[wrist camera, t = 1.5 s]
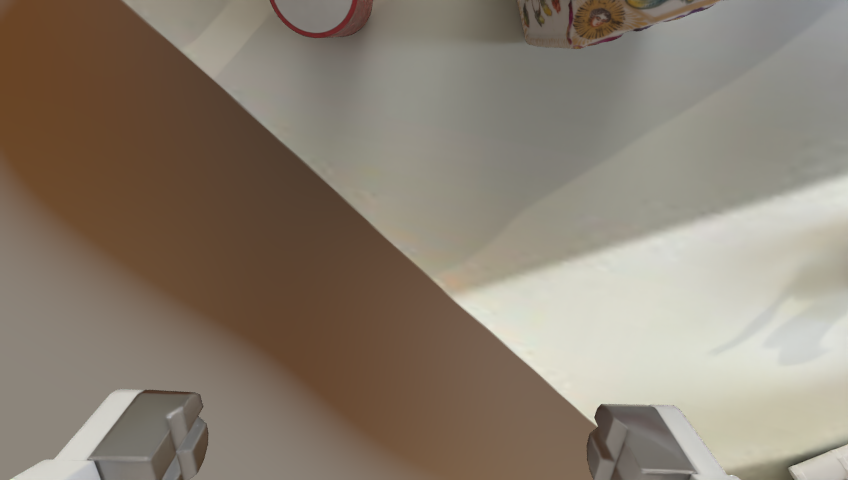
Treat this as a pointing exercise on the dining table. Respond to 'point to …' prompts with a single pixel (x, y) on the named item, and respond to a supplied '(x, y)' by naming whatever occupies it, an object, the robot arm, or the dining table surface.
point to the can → (323, 16)
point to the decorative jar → (596, 19)
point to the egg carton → (823, 466)
